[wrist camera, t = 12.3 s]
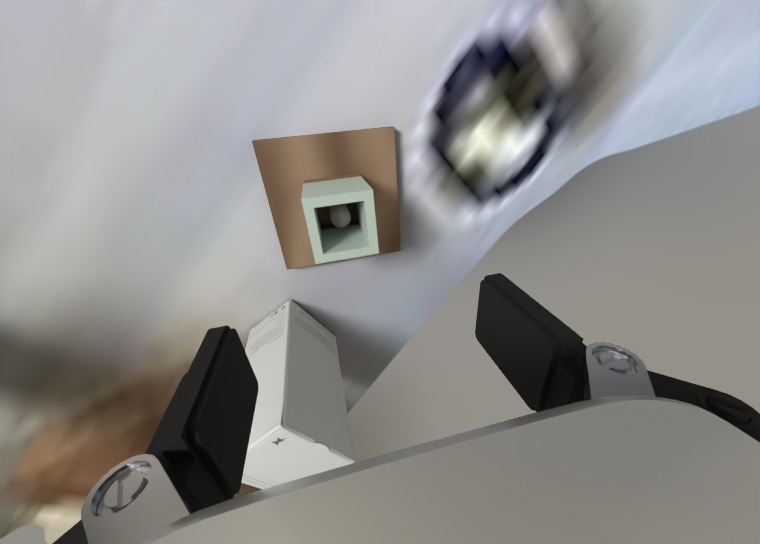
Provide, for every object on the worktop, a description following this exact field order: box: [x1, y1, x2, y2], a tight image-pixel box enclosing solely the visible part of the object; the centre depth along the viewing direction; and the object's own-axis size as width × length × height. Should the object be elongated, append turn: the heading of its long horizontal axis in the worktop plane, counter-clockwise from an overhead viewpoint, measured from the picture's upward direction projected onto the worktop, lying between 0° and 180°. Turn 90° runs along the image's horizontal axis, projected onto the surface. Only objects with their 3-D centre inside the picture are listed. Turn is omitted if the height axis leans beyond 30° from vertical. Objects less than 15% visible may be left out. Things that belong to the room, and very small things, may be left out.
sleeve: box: [301, 173, 379, 264], centre depth 24 cm, size 5×5×7 cm
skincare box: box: [242, 300, 355, 489], centre depth 27 cm, size 8×7×16 cm
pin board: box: [252, 127, 400, 270], centre depth 25 cm, size 12×12×6 cm
